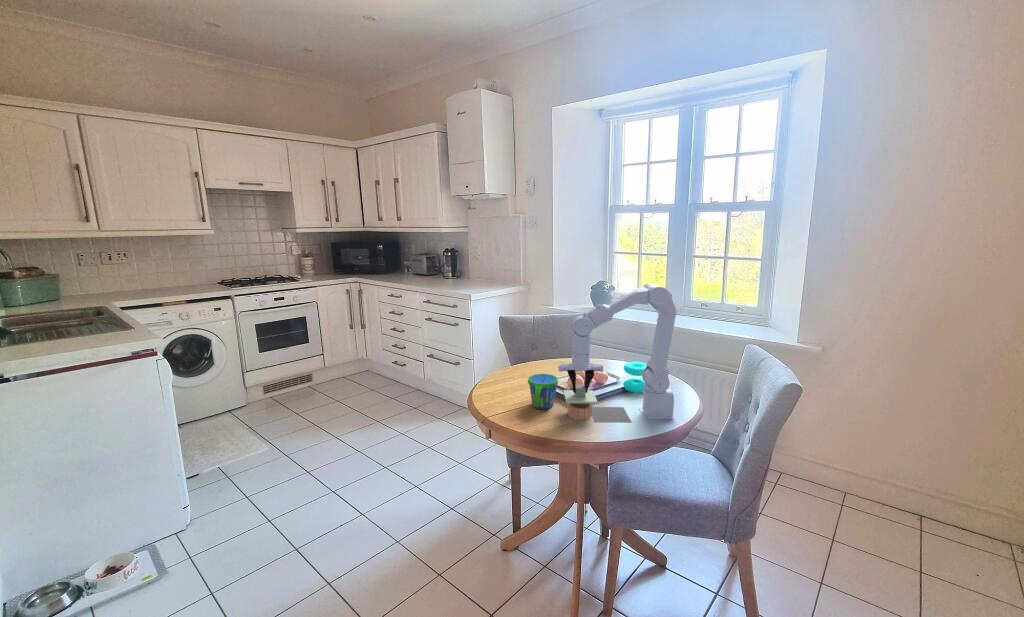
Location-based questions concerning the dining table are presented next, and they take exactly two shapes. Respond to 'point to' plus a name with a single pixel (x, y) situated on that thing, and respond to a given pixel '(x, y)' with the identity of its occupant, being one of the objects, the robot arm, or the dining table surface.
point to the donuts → (634, 383)
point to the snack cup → (543, 390)
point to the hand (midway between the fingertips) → (580, 391)
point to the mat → (610, 414)
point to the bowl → (579, 410)
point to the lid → (580, 395)
